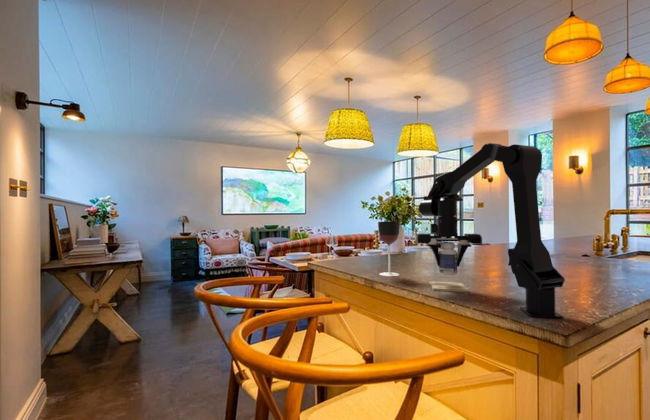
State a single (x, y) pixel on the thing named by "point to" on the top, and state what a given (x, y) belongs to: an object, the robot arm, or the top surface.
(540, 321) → the top surface
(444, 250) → the pill bottle
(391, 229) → the wineglass
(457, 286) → the coaster
